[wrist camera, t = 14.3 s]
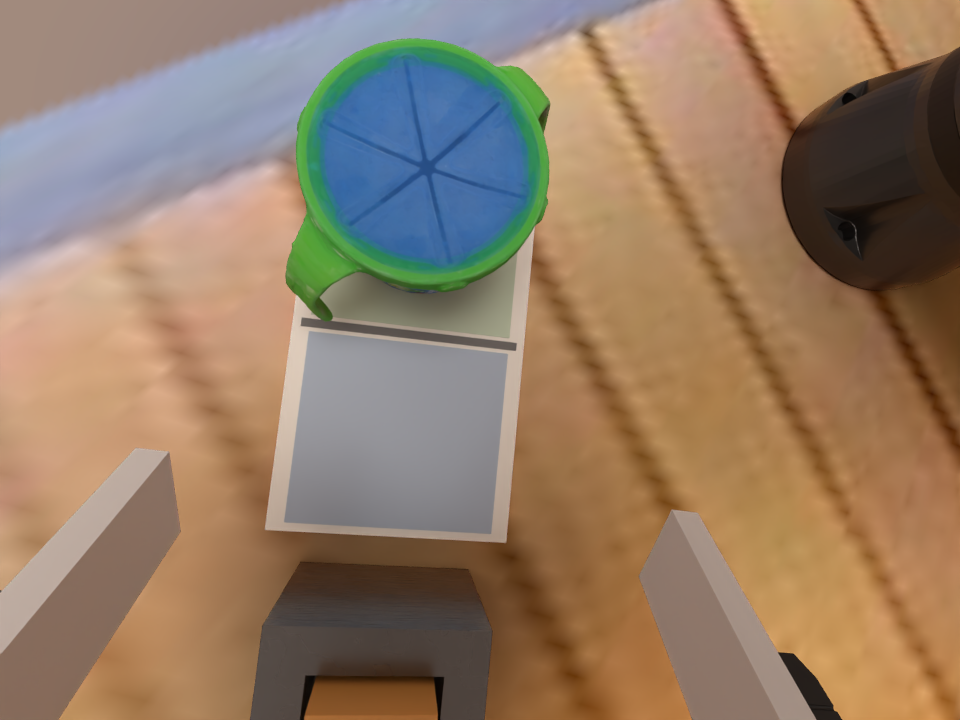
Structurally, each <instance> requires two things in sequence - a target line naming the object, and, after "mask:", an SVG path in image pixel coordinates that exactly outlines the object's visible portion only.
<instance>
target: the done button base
mask: <svg viewBox="0 0 960 720" xmlns="http://www.w3.org/2000/svg"><path fill="white" fill-rule="evenodd" d="M491 641H492V629H491V626H490V624H489V621H488V619H487V616H486V614H485V611H484V608H483V606H482V603H481V601H480V598H479V596H478V593H477V591H476V588H475V585H474V583H473V580H472V578H471V575H470V573H469V570H468V569H448V568H425V567H402V566H380V565H357V564H335V563H312V562H300V564H299V565H298V567H297V569H296V570H295V572H294V574H293V575H292V577H291V579H290V580H289V582H288V584H287V585H286V587H285V589H284V590H283V592H282V594H281V595H280V597H279V599H278V601H277V602H276V604H275V606H274V607H273V609H272V611H271V612H270V614H269V616H268V617H267V619H266V621H265V622H264V624H263V626H262V633H261V641H260V648H259V656H258V664H257V671H256V679H255V686H254V694H253V702H252V709H251V717H250V720H304V717H305V713H306V709H307V706H308V703H309V699H310V696H311V693H312V689H313V686H314V683H315V679H316V676H317V675H319V676H422V677H434V685H435V694H436V702H437V711H438V720H484V718H485V707H486V696H487V685H488V674H489V663H490V652H491Z"/></svg>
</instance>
